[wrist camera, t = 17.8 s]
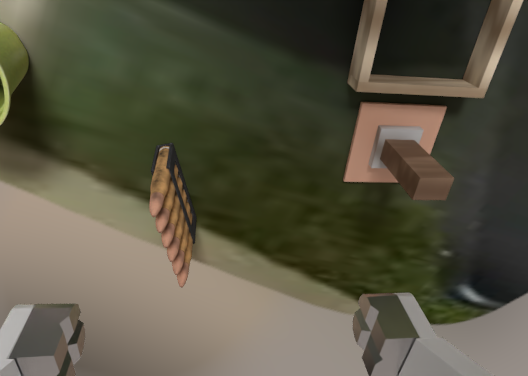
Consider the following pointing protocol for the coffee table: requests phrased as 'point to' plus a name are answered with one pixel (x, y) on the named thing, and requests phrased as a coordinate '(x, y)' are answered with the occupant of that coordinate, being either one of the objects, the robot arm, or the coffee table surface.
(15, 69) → the plant pot
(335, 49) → the coffee table surface
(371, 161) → the wooden post
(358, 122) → the terracotta tile
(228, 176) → the coffee table surface
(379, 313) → the robot arm
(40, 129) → the coffee table surface
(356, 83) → the frame
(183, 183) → the ammunition clip
